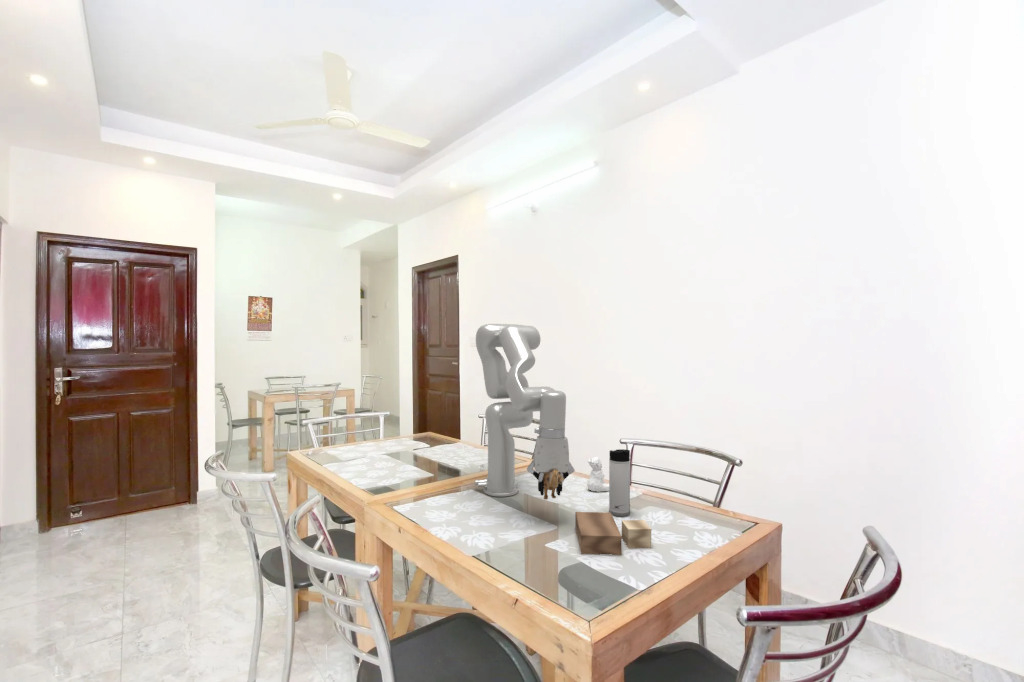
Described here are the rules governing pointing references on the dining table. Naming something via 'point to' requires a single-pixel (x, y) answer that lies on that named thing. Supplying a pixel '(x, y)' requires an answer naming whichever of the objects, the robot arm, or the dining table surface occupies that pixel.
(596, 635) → the dining table surface
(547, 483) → the lion figurine
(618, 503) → the travel mug
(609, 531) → the walnut block
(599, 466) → the seated beast figurine
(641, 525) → the oak block
